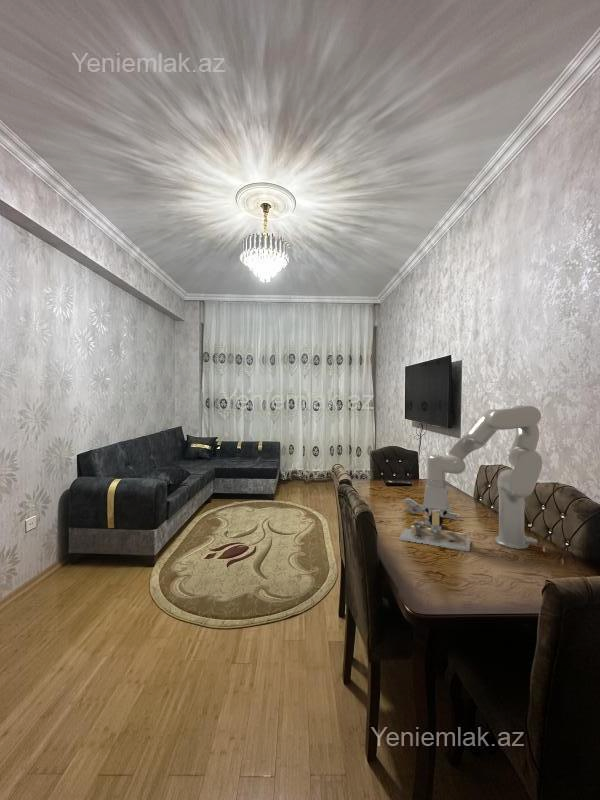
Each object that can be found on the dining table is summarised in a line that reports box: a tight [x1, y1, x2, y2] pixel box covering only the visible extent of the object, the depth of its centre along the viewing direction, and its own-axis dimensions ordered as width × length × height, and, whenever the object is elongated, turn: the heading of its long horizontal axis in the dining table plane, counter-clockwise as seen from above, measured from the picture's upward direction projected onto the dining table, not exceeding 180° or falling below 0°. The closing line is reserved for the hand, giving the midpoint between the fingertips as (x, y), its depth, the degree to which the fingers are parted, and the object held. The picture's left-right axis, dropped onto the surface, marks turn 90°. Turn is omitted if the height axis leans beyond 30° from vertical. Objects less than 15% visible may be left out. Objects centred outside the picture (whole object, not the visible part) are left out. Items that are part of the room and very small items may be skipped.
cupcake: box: [422, 509, 440, 528], centre depth 180 cm, size 9×9×10 cm
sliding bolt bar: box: [410, 520, 467, 541], centre depth 161 cm, size 23×6×5 cm, turn 63°
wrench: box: [402, 497, 462, 521], centre depth 195 cm, size 8×2×30 cm
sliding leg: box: [431, 512, 442, 538], centre depth 162 cm, size 4×6×9 cm, turn 153°
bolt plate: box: [399, 527, 471, 552], centre depth 160 cm, size 28×12×2 cm, turn 63°
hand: (436, 524), depth 163 cm, fingers closed on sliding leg, 3 cm apart
